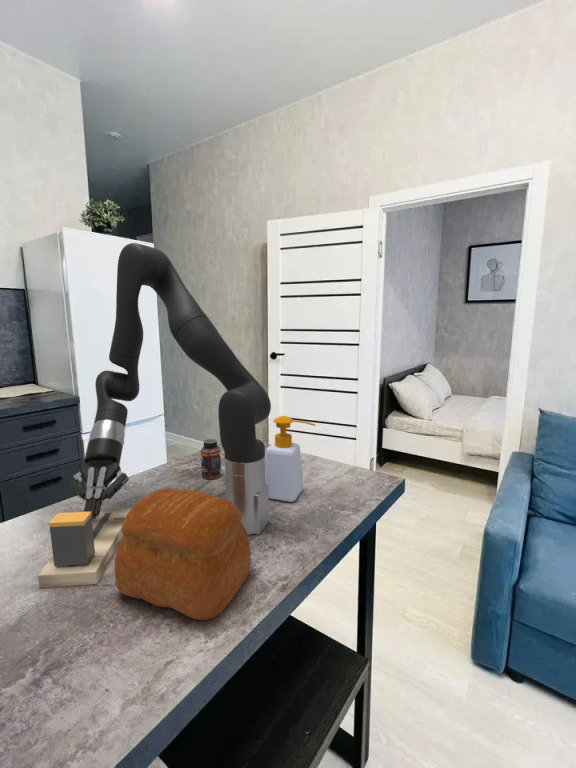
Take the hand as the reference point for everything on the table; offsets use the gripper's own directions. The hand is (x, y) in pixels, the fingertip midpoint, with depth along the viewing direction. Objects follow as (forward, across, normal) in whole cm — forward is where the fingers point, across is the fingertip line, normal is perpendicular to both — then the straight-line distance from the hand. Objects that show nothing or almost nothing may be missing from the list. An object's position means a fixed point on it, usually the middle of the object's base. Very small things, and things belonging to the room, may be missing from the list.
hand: (90, 518), depth 82 cm
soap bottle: (-9, +45, +19) cm, 49 cm away
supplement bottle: (-20, +22, +30) cm, 42 cm away
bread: (+14, +21, -5) cm, 26 cm away
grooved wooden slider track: (+5, 0, +5) cm, 7 cm away
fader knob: (+9, 0, -3) cm, 9 cm away
